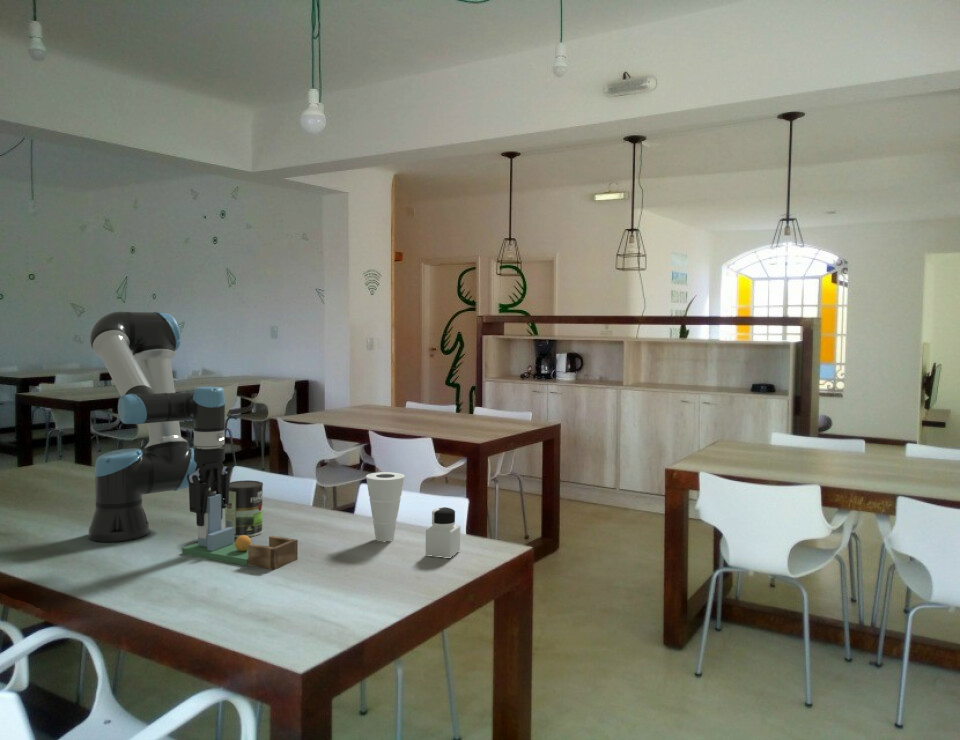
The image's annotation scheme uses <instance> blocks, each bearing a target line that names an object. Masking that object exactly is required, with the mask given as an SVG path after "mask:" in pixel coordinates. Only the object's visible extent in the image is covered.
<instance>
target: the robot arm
mask: <svg viewBox="0 0 960 740" xmlns="http://www.w3.org/2000/svg"><path fill="white" fill-rule="evenodd" d="M89 335H90V337H89V343H90V346H91V349H92V350H93V353H94V354H95V355H96V356H97V357H98V358H99V359H101V360H102V362H103V364H104V366H105V367H106V370H107V371H108V373H109V376H110V378H111V379H112V382H113V383H114V385H115V387H116V390H117V391H118V393H119V395H120V397H119V398H118V403H117V412H118V417H119V420H120V421H121V422H122V424H126V425H142V424H146V425H147V432H148V439H149V441H148V443H147V444H146V446H144V452H143V451H142V450H141V448H134V447H133V448H131V447H130V448H122V449H117V450H112V451H108V452H105V453H103V454H101V455H99V456H98V457H97V458H96V459H95V464H94V465H95V466H94V467H95V468H94V473H93V475H94V481H95V482H94V485H95V486H94V487H95V490H94V491H95V494H94V497H95V498H94V499H95V510H94V514H93V517H92V520H91V523H90V526H89V528H88V539H89V540H91V541H93V542H100V543H116V542H125V541H131V540H135V539H136V540H137V539H139V538H142V537H146V535H148V534H149V532H150V522H149V521H148V519H147V514H146V512H145V509H144V507H143V495H149V494H156V493H157V494H158V493H162V492H163V493H164V492H170V491H174V492H176V491H180V490H185V489H188V498H189V500H188V502H189V512H190V513H195V515H196V517H195V518H196V526H197V538H198V537H199V538H205V539H207V535H208V513H205V512H206V505H207V498H208V491H209V490H216V494H221V521H222V520H223V509H224V510H225V508H226V505H225V504H228V503H229V483H230V475H231V471H232V468H231V467H230V466H224V464H223V462H225V460H226V457H225V456H226V455H225V453H226V448H225V446H224V445H225V442H226V441H225V440H226V439H225V437H226V436H225V429H226V428H225V427H226V426H225V424H226V423H225V420H226V419H225V418H226V411H225V410H226V406H225V405H226V398H225V397H226V396H225V389H224V388H223V387H221V386H215V385H214V386H209V385H207V386H197V387H195V389H194V390H185V391H181V392H176V391H175V389H176V388H175V384H174V383H175V382H174V375H173V368H172V362H171V361H172V359H173V358H174V357H175V355H176V351H178V349H179V348H180V346H181V330H180V327H179V325H178V322H177V319H175V317H174V316H173V315H172V314H170V313H165V312H158V311H153V312H149V311H140V312H139V311H114V312H111V313H108V314H105V315H104V316H102V317H101V318H99V320H97V321H96V322H95V324H94V325H93V327H92V329H91V332H90V334H89ZM180 421H193V446H195V447H194V448H192V447H189V446H188V444H189V443H188V441H187V439H184V437H182V434H181V433H182V432H181V427H180ZM200 508H201V509H200Z"/></svg>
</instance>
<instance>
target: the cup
mask: <svg viewBox="0 0 960 740" xmlns="http://www.w3.org/2000/svg"><path fill="white" fill-rule="evenodd" d="M405 476H406V475H405V474H403V473H400V472H393V471H392V472H391V471H380V472H372V473H368V474H367V475H365V478H366V485H367V491H368V497H369V503H370V504H369V505H370V510H371V511H370V512H371V517H372V519H373V520H372V523H373V528H374V531H373V532H374V535H375V541H376V540H377V541H376V542H378V541H391V540H393V541H394V538H395V534H396V533H395V532H396V527H397V520H398V515H399V510H400V505H401V499H402V498H401V497H402V493H403V489H404V488H403V487H404V483H405V482H404V481H405ZM391 542H392V541H391Z"/></svg>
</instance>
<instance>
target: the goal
mask: <svg viewBox="0 0 960 740" xmlns="http://www.w3.org/2000/svg"><path fill="white" fill-rule="evenodd" d="M298 544H299V543H298V539H295V538H289V537H282V536H276V535H270V536H268V546H267V545H262V544H255V543H251V544H250V545H248V565H247V566H252V567H258V568H263V569H269V570H274V571H275V570H277V569H279V568H281V567H284V566H286V565H288V564H290V563H292V562H295V561H297V560H298V554H299V553H298V549H299V548H298Z"/></svg>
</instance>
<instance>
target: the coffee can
mask: <svg viewBox="0 0 960 740" xmlns="http://www.w3.org/2000/svg"><path fill="white" fill-rule="evenodd" d="M263 487H264V483H263V482H262V481H259V480H246V479H245V480H235V481H231V482H230V481H229V503H228V504H225V505H226V508H225V509H224V511H225V512H224V513H225V515H224V516H225V518H224V523H225V525H224V526H225V528H228V527H233V528H234V539H235V538H236V539H237V538H238V537H239V536H241V535H246V536H248V537H249V538H252V537H256V536H260V535H261V534H262V533H263V532H264V529H263ZM225 528H224V529H225Z"/></svg>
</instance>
